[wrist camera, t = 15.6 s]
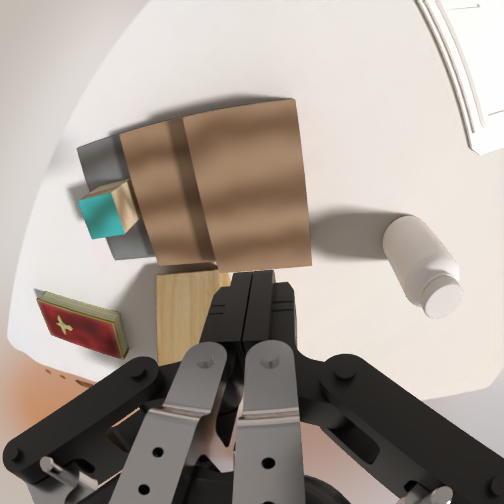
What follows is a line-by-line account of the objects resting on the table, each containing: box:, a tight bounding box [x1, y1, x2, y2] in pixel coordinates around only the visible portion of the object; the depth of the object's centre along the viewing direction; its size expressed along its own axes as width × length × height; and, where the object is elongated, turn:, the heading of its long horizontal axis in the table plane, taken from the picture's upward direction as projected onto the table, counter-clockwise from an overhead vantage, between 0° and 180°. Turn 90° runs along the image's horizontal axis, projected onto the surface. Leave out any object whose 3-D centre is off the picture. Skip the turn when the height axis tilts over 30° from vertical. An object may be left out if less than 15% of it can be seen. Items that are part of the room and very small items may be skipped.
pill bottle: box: [383, 216, 463, 319], centre depth 34 cm, size 8×8×15 cm
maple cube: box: [78, 179, 142, 239], centre depth 39 cm, size 6×6×6 cm
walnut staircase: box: [77, 99, 312, 273], centre depth 38 cm, size 20×32×6 cm, turn 99°
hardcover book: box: [37, 291, 129, 360], centre depth 56 cm, size 12×21×4 cm, turn 83°
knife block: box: [156, 269, 244, 471], centre depth 42 cm, size 11×35×31 cm, turn 11°
